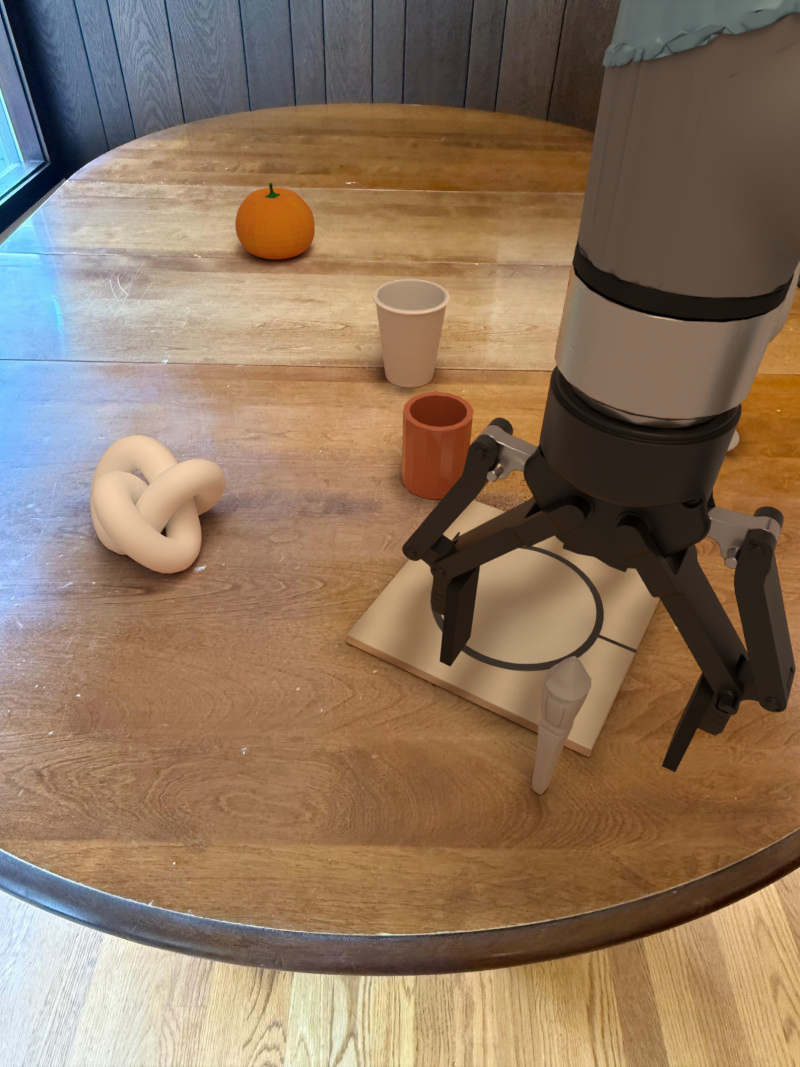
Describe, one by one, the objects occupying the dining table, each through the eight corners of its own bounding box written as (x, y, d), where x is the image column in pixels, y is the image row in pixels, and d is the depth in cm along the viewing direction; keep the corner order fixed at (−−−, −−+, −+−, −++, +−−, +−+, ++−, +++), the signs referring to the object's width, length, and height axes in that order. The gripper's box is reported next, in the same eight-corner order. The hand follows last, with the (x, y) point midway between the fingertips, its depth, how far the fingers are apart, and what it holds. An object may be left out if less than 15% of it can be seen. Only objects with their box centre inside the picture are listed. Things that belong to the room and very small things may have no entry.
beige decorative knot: (205, 483, 75) (190, 404, 69) (257, 555, 68) (246, 474, 62) (88, 523, 71) (61, 442, 65) (131, 605, 63) (104, 522, 57)
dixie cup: (455, 366, 93) (460, 286, 86) (428, 400, 87) (432, 318, 80) (391, 351, 95) (392, 272, 89) (361, 383, 90) (360, 302, 83)
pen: (566, 787, 52) (606, 654, 42) (544, 815, 50) (582, 684, 41) (534, 765, 53) (567, 631, 44) (512, 792, 51) (541, 659, 42)
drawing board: (669, 581, 66) (672, 571, 66) (588, 758, 54) (591, 749, 53) (461, 503, 74) (462, 494, 73) (346, 642, 61) (346, 633, 60)
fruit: (322, 263, 114) (318, 193, 108) (242, 270, 112) (233, 199, 106) (310, 233, 123) (305, 167, 116) (235, 239, 121) (226, 172, 114)
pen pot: (477, 472, 77) (484, 404, 72) (448, 507, 73) (453, 437, 68) (421, 452, 80) (424, 385, 74) (390, 485, 76) (390, 416, 70)
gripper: (1006, 428, 29) (794, 746, 43) (419, 270, 38) (405, 577, 52) (1008, 547, 24) (768, 860, 38) (332, 333, 33) (343, 652, 47)
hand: (559, 697), depth 45 cm, fingers open, 13 cm apart
